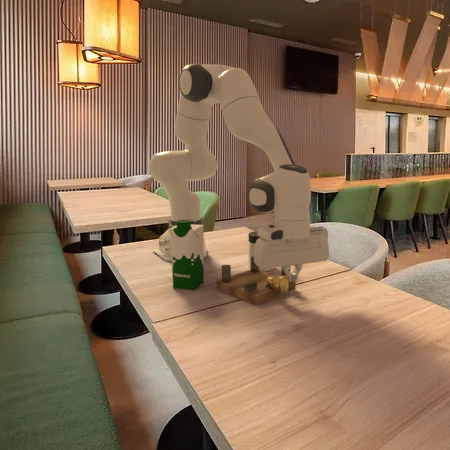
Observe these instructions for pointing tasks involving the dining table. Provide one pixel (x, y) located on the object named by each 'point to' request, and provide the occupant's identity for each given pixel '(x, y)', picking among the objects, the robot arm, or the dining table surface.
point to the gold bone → (278, 284)
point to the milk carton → (187, 255)
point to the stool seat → (250, 284)
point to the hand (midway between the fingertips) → (291, 280)
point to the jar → (253, 248)
